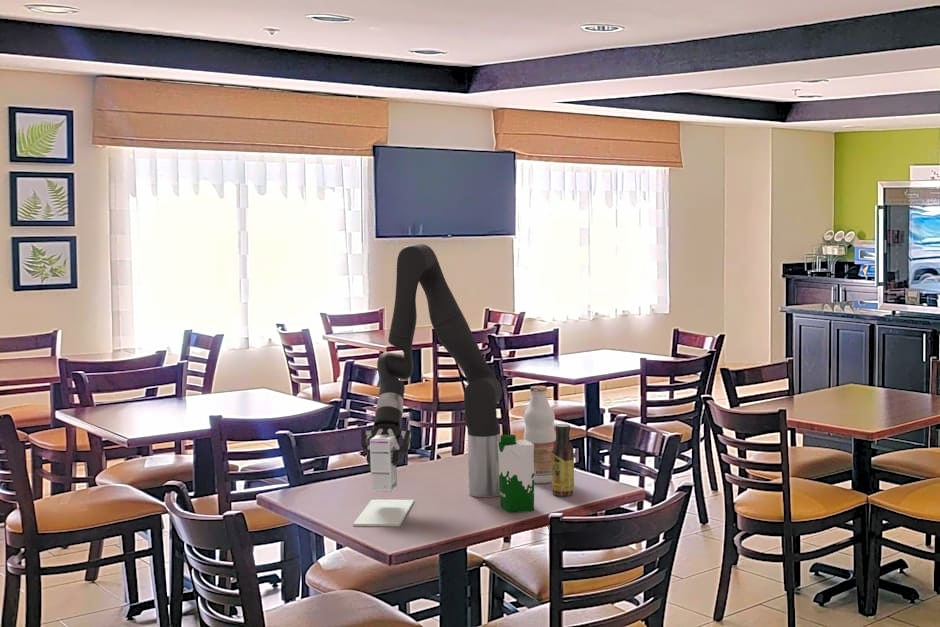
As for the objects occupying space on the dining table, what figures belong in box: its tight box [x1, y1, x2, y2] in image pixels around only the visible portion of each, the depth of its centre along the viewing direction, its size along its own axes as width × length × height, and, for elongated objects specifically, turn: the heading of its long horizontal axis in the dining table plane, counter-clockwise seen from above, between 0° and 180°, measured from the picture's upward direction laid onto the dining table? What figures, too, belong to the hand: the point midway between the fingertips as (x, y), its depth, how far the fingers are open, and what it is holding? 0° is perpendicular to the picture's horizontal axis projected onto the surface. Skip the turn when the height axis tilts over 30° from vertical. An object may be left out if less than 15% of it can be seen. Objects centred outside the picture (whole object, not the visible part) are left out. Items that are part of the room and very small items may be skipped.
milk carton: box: [497, 433, 535, 514], centre depth 282 cm, size 9×9×20 cm
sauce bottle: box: [551, 423, 575, 497], centre depth 295 cm, size 7×6×20 cm
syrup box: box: [369, 435, 398, 493], centre depth 286 cm, size 6×6×14 cm
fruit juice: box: [523, 385, 556, 484], centre depth 313 cm, size 9×9×28 cm
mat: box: [352, 499, 415, 527], centre depth 281 cm, size 12×24×1 cm, turn 174°
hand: (382, 464), depth 285 cm, fingers closed on syrup box, 6 cm apart
